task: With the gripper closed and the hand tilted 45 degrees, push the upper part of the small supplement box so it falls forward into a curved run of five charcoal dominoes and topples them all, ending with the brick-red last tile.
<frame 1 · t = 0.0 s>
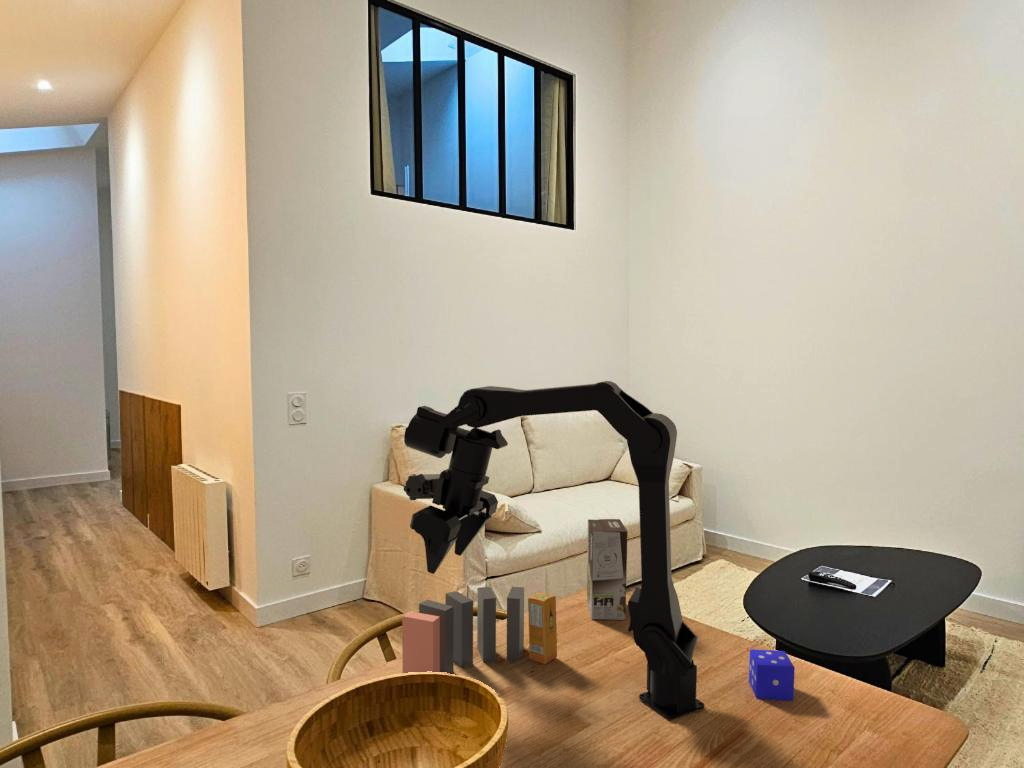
hand: (444, 563, 107), 15 cm above the table, tool pointing down, fingers open, 9 cm apart
die: (770, 692, 99), on the table
coffee box: (605, 611, 128), on the table
domino 1: (515, 654, 110), on the table
domino 3: (459, 659, 108), on the table
domino 4: (436, 669, 105), on the table
domino 2: (486, 654, 110), on the table
domino 5: (421, 683, 101), on the table
supplement box: (542, 659, 109), on the table
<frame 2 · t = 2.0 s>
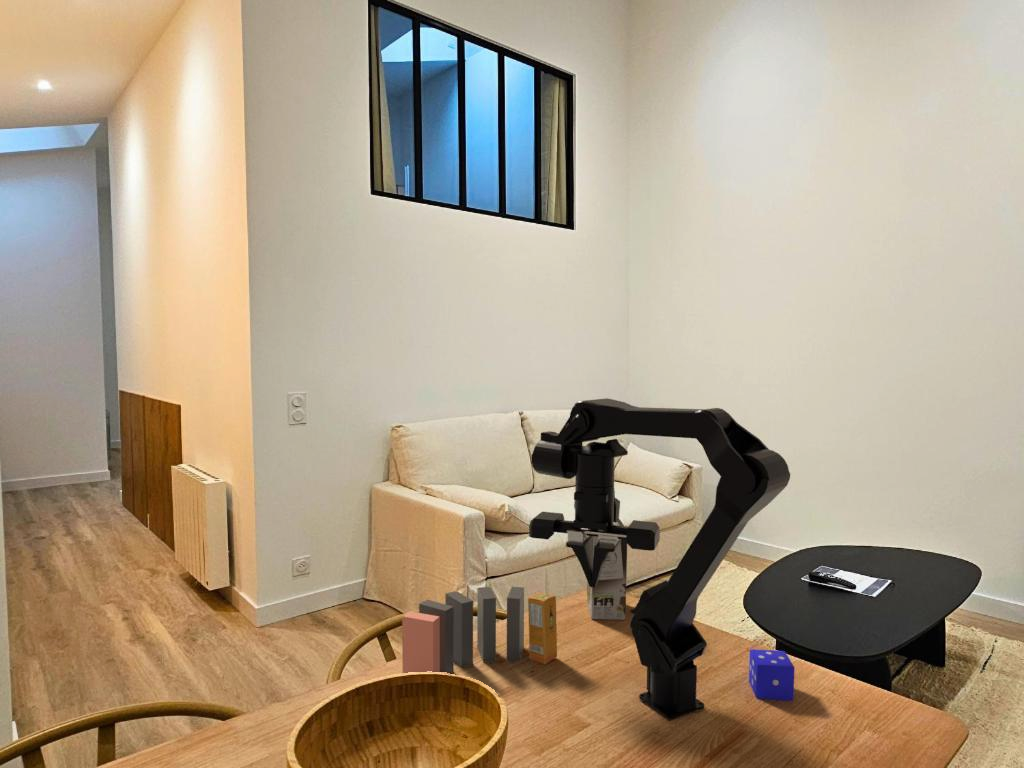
hand: (593, 586, 104), 13 cm above the table, tool pointing down, fingers closed
nothing on the table moved.
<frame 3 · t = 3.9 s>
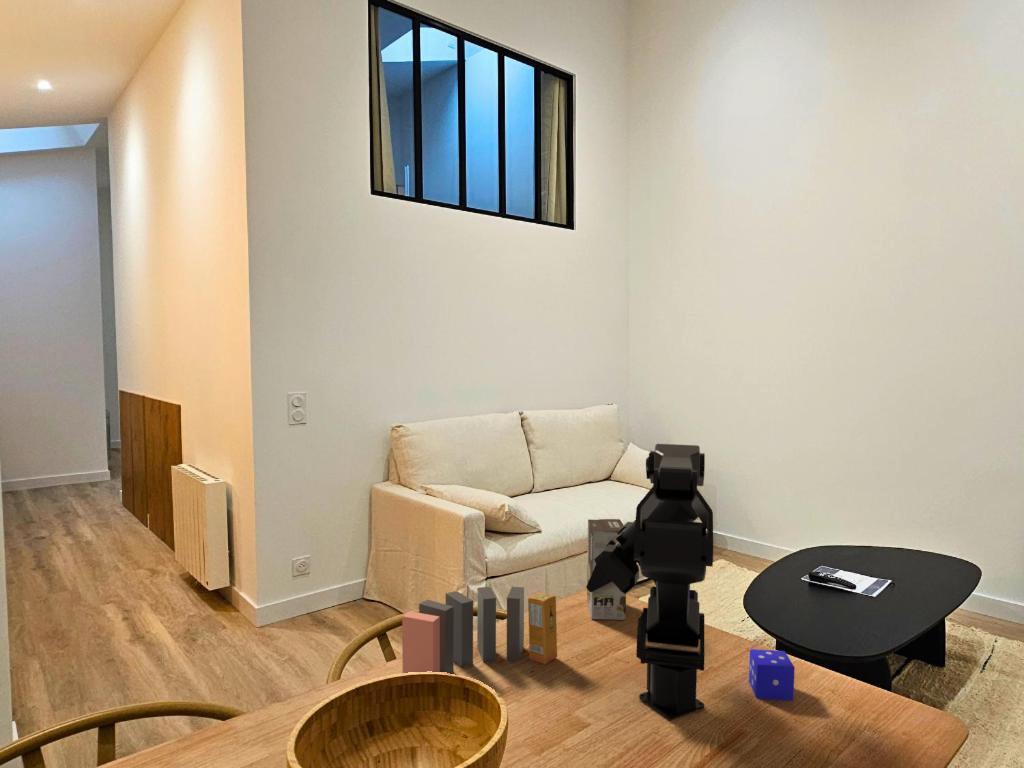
hand: (588, 589, 106), 12 cm above the table, tool tilted 45°, fingers closed
nothing on the table moved.
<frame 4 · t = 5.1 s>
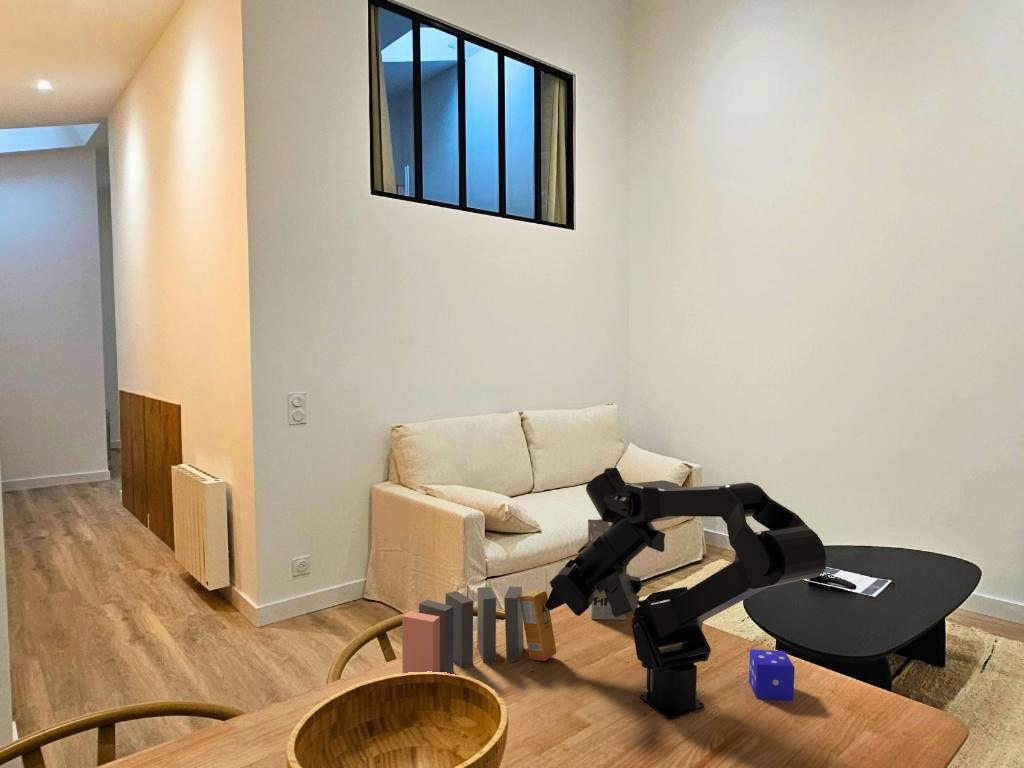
hand: (547, 607, 109), 8 cm above the table, tool tilted 45°, fingers closed
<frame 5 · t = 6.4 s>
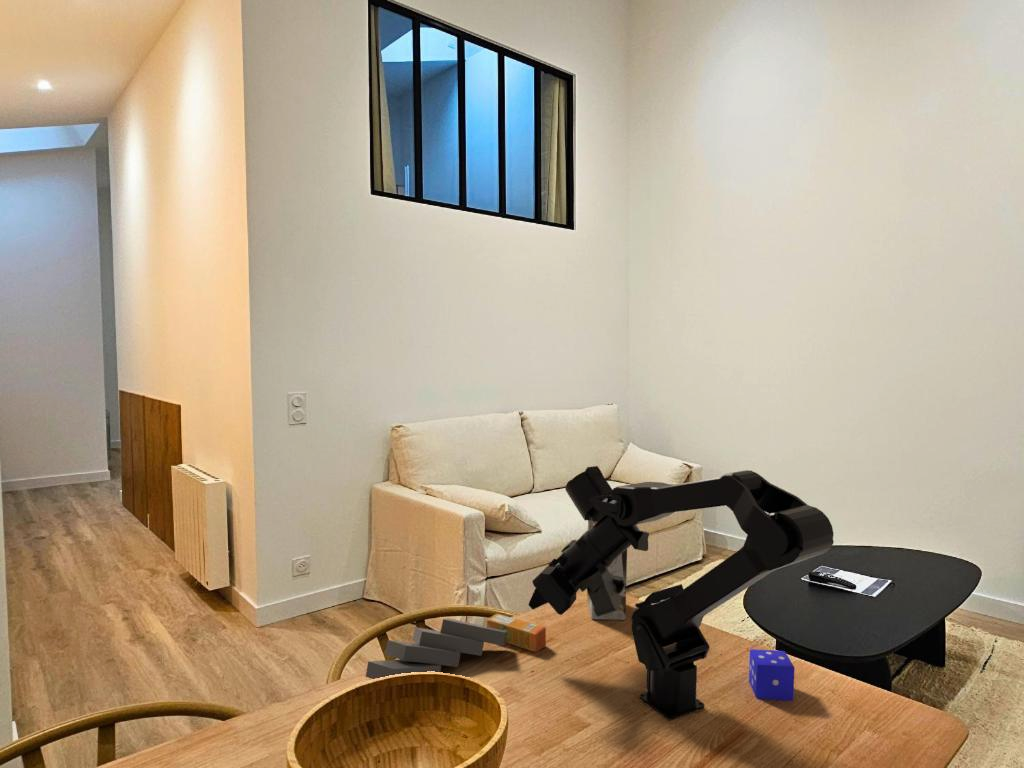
hand: (531, 606, 109), 8 cm above the table, tool tilted 45°, fingers closed
domino 1: (505, 638, 110), point 3 cm above the table, tilted 81°, touching domino 2
domino 3: (449, 656, 106), point 1 cm above the table, tilted 68°, touching domino 2, domino 4
domino 4: (427, 669, 103), point 1 cm above the table, tilted 72°, touching domino 3, domino 5
domino 2: (477, 646, 109), point 2 cm above the table, tilted 74°, touching domino 1, domino 3
domino 5: (415, 685, 99), on the table, tilted 90°, touching domino 4
supplement box: (541, 640, 111), point 2 cm above the table
everything else where it was.
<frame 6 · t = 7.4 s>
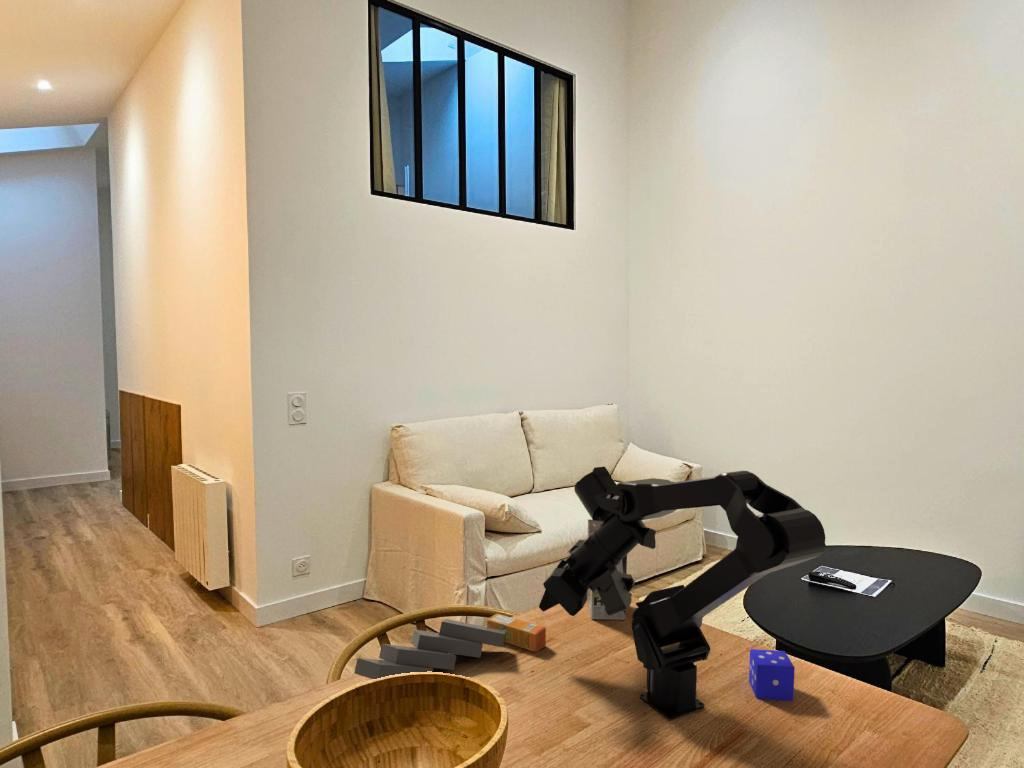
hand: (541, 608, 109), 8 cm above the table, tool tilted 45°, fingers closed
domino 3: (446, 659, 105), point 1 cm above the table, tilted 70°, touching domino 2, domino 4
domino 4: (420, 672, 101), point 1 cm above the table, tilted 68°, touching domino 3
domino 5: (410, 688, 99), on the table, tilted 90°
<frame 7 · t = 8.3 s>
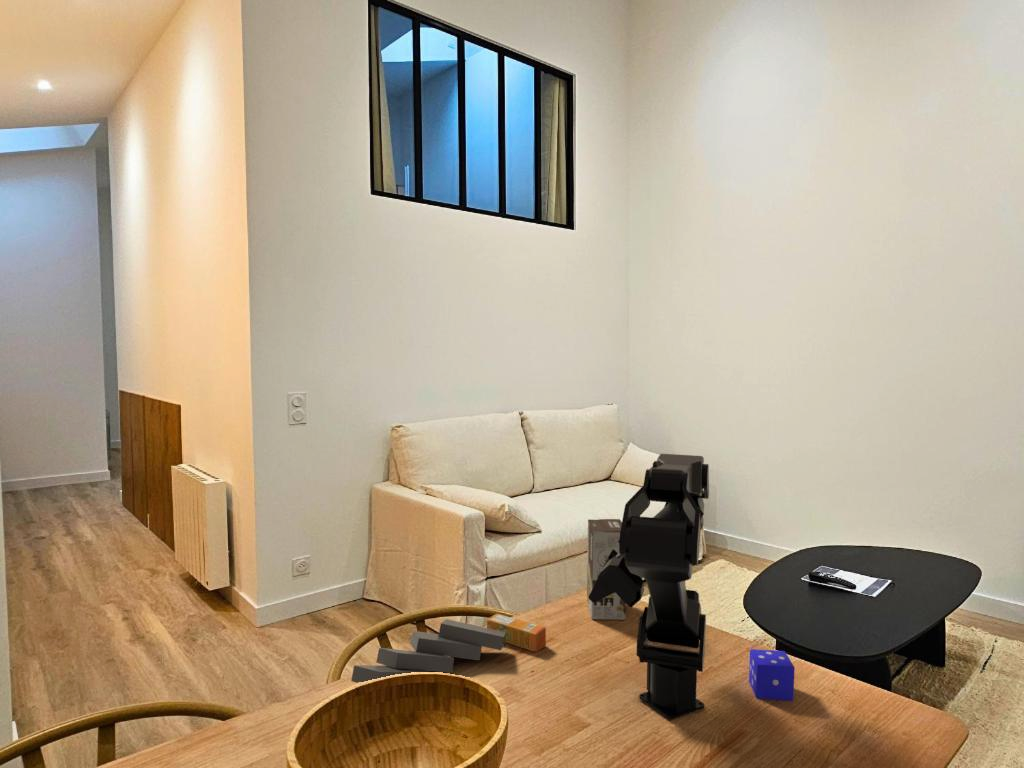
hand: (590, 599, 105), 11 cm above the table, tool tilted 45°, fingers closed
domino 4: (416, 676, 100), point 1 cm above the table, tilted 69°, touching domino 3, domino 5
domino 5: (407, 691, 98), on the table, tilted 90°, touching domino 4
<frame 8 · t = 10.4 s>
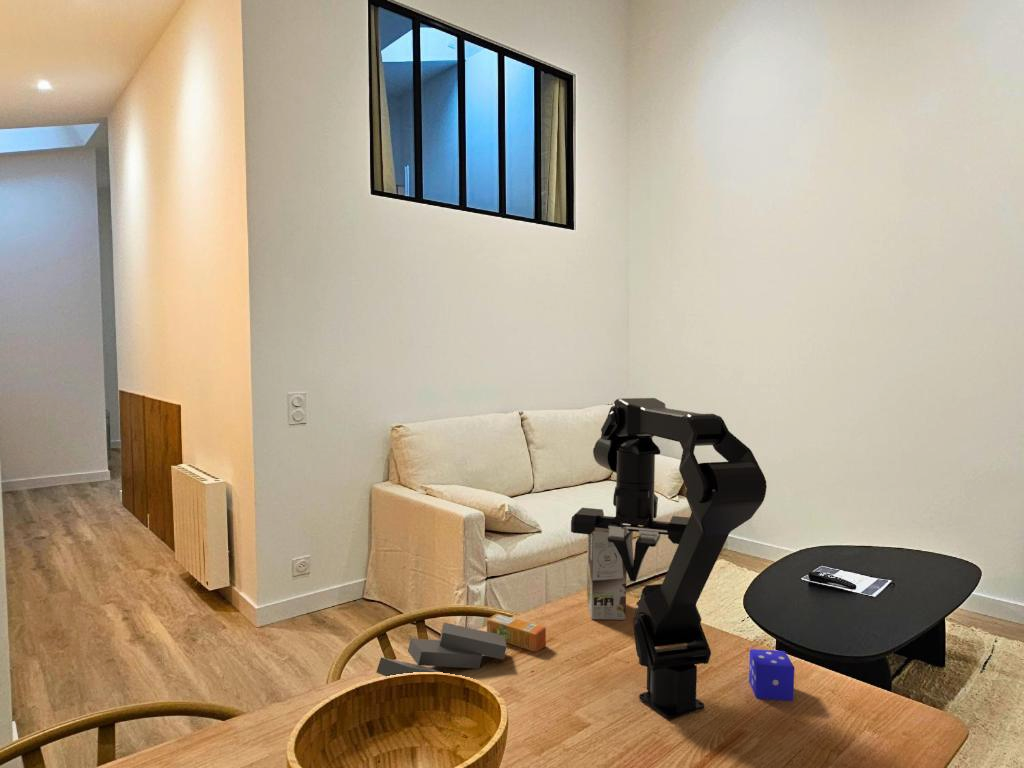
hand: (633, 580, 107), 13 cm above the table, tool pointing down, fingers closed
domino 3: (433, 677, 101), point 1 cm above the table, tilted 62°, touching domino 2
domino 4: (407, 688, 95), point 2 cm above the table, tilted 91°, touching domino 5
domino 2: (474, 655, 108), point 1 cm above the table, tilted 75°, touching domino 1, domino 3
domino 5: (406, 698, 96), on the table, tilted 90°, touching domino 4
at the end: domino 5 tilted 90°; supplement box tilted 91° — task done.
